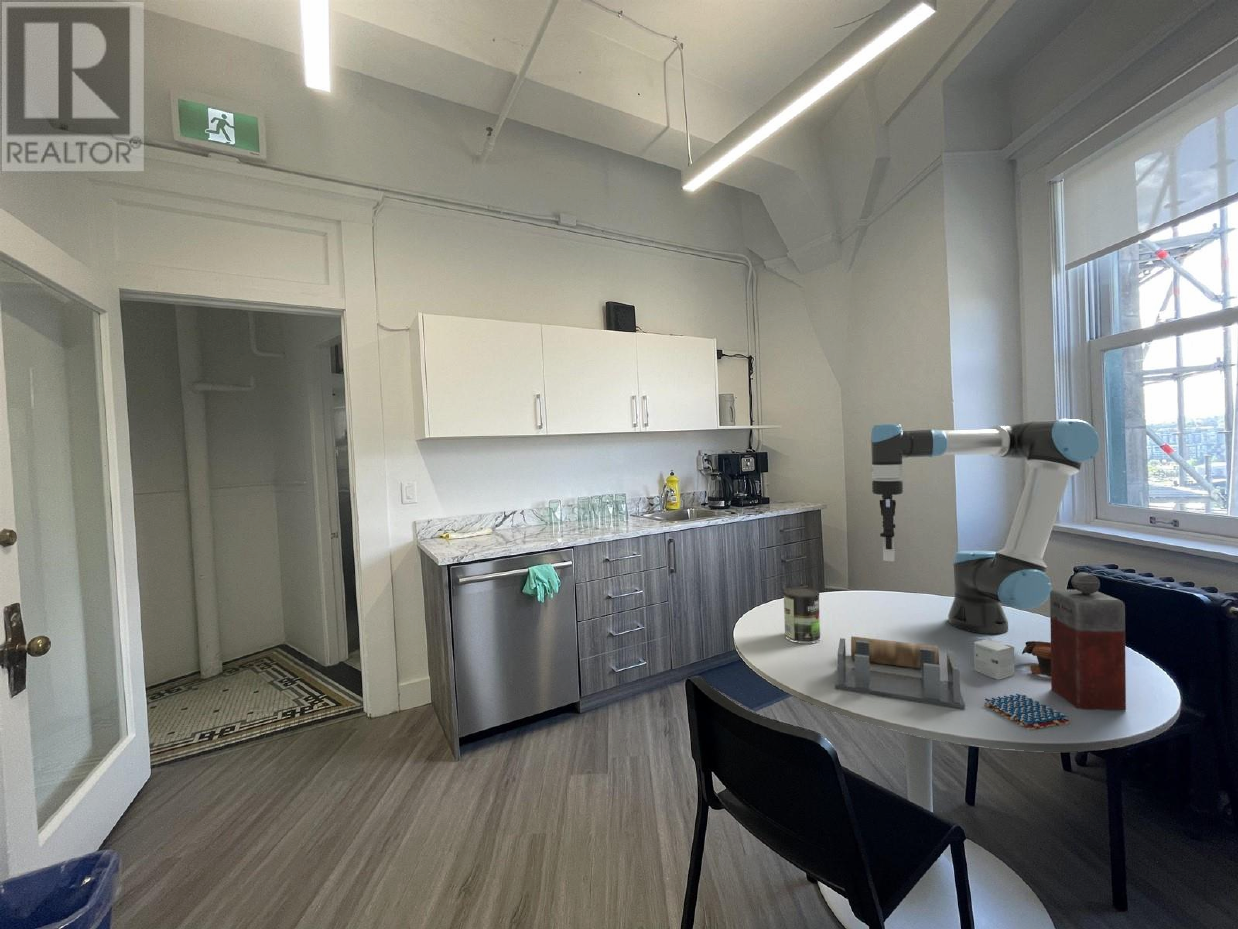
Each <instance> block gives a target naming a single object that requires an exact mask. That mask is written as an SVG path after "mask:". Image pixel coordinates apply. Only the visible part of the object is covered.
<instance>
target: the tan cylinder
mask: <svg viewBox="0 0 1238 929" xmlns="http://www.w3.org/2000/svg"><path fill="white" fill-rule="evenodd" d="M856 640H860V641H868V642H869V653H870V663H875V664H881V665H890V666H897V667H898V666H899V667H904V668H911V669H920V648H927V649H935V665H939V666H940V653H939V646H938V645H929V644H920V643H913V642H904V641H896V640H895V641H894V640H885V639H878V638H877V639H876V638H869V637H860V636H851V637H850V656H851V660H852V661H855V654H856Z"/></svg>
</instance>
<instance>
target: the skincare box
mask: <svg viewBox="0 0 1238 929" xmlns="http://www.w3.org/2000/svg"><path fill="white" fill-rule="evenodd" d="M973 670H974V671H975V672H978V673H980V674H983V675H985V676H988V677H989V678H992V679H995V680H997V681H999V680H1004V679H1006V678H1010V677H1013V676H1014V675H1015V646H1013V645H1010V644H1007V643H1004V642H1001V641H998V640H995V639H992V638H987V639H983V640H978V641H975V642H973Z"/></svg>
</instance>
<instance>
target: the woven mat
mask: <svg viewBox="0 0 1238 929" xmlns="http://www.w3.org/2000/svg"><path fill="white" fill-rule="evenodd" d="M985 701H987V702H984V704H985V707H986V708H991V710H993V711H994V712H995V713H999V714H1000V713H1001V714H1000V715H1002V716H1004V718H1005V719H1009V720H1010V721H1012V722H1015V723H1016V724H1017V725H1019V726H1020V727H1026V728H1025V729H1026V730H1035V729H1041V728H1047V727H1052V726H1059V725H1066V724H1069V723H1070V720H1069V719H1067V718H1068V716H1067V715H1065V714H1063V713H1061V712H1060V711H1058V710H1055V709H1054V708H1051V707H1050V706H1047V705H1046V704H1043V703H1040V702H1039V701H1036V699H1033V698H1031V697H1029V696H1027V695H1026V694H1019V693H1016V694H1015V695H1013V694H1009V696H1007V695H1003V697H1001V696H997V698H995V697H991V699H989V698H985Z"/></svg>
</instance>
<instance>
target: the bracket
mask: <svg viewBox="0 0 1238 929" xmlns="http://www.w3.org/2000/svg"><path fill="white" fill-rule="evenodd" d="M870 664H871V662H870V653H869V642H868V641H860V640H856V654H855V660H854V667H848V666H847V652H846V638H843V637H841V638H839V642H838V650H837V667H836V675H835V680H834V682H835V683H834V689H835V688H836V689H835V690H842V691H846V692H847V691H848V692H854V693H860V694H865V695H872V696H878V697H884V698H885V697H886V698H892V699H898V700H905V701H909V702H915V703H916V702H917V703H923V704H929V705H933V706H940V707H946V708H947V707H948V708H953V709H958V710H959V709H960V710H966V704H965V701H964V698H963V695H962V693H961V677H960V676H961V675H960V673H961V672H960V667H959V665H958V662H957V659H956V656H955V653H954V651H952V650H946V665H947V670H946V672H947V677H946V678H947V680H946V681H945V680H941V674H940V672H941V671H940V664H939V665H935V649H927V648H920V670H919V671H920V677H917V676H911V675H904V674H897V673H892V672H891V673H889V672H883V671H876V670H871V665H870Z"/></svg>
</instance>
